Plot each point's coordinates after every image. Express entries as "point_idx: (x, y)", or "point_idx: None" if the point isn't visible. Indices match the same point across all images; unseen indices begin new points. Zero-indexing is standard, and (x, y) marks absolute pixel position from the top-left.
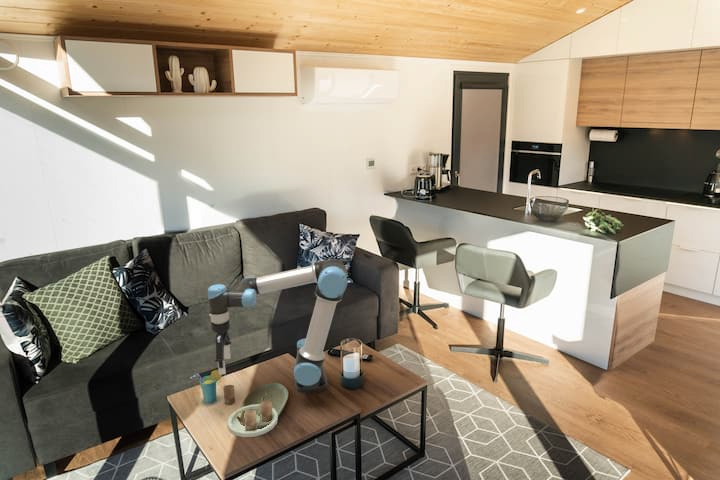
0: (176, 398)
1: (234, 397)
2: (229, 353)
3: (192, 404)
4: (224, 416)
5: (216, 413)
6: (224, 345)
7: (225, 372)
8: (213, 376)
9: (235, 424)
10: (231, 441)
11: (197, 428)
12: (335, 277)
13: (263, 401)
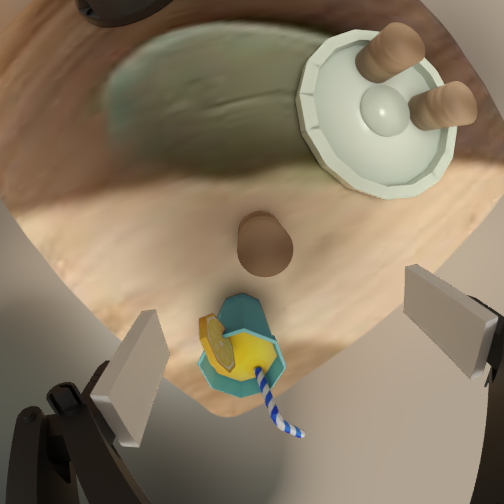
0: (235, 410)
1: (264, 215)
2: (142, 340)
3: None
4: (343, 227)
5: (324, 263)
6: (125, 436)
7: (418, 268)
8: (228, 353)
9: (399, 170)
10: (454, 169)
11: (398, 293)
12: None
13: (392, 50)
